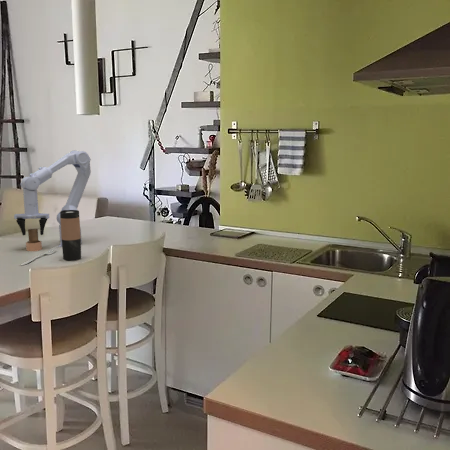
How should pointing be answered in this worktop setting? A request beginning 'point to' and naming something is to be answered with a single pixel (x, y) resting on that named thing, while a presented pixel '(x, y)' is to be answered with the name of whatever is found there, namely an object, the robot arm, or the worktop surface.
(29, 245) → the cup
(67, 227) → the travel mug
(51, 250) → the fork
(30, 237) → the peg
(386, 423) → the worktop surface
